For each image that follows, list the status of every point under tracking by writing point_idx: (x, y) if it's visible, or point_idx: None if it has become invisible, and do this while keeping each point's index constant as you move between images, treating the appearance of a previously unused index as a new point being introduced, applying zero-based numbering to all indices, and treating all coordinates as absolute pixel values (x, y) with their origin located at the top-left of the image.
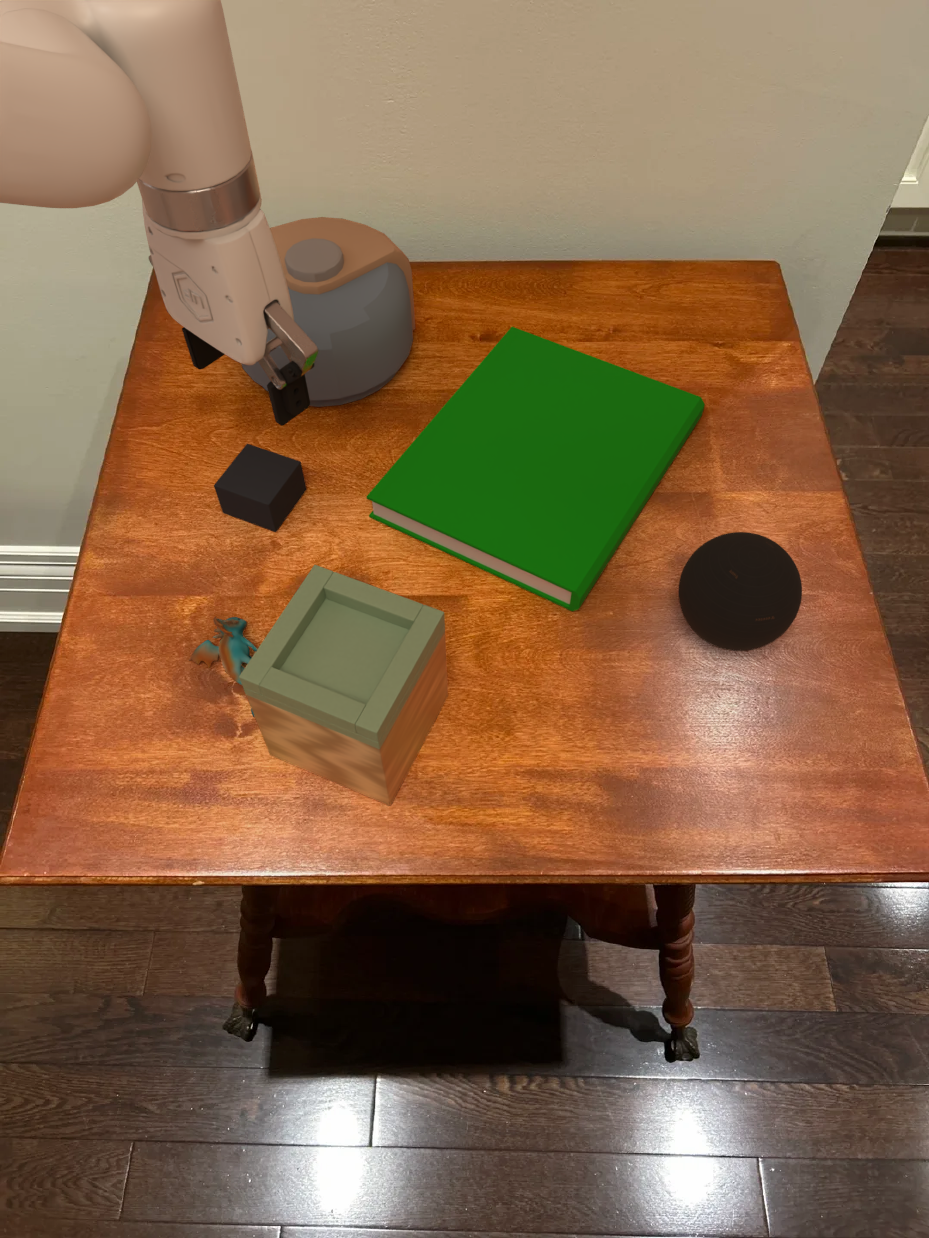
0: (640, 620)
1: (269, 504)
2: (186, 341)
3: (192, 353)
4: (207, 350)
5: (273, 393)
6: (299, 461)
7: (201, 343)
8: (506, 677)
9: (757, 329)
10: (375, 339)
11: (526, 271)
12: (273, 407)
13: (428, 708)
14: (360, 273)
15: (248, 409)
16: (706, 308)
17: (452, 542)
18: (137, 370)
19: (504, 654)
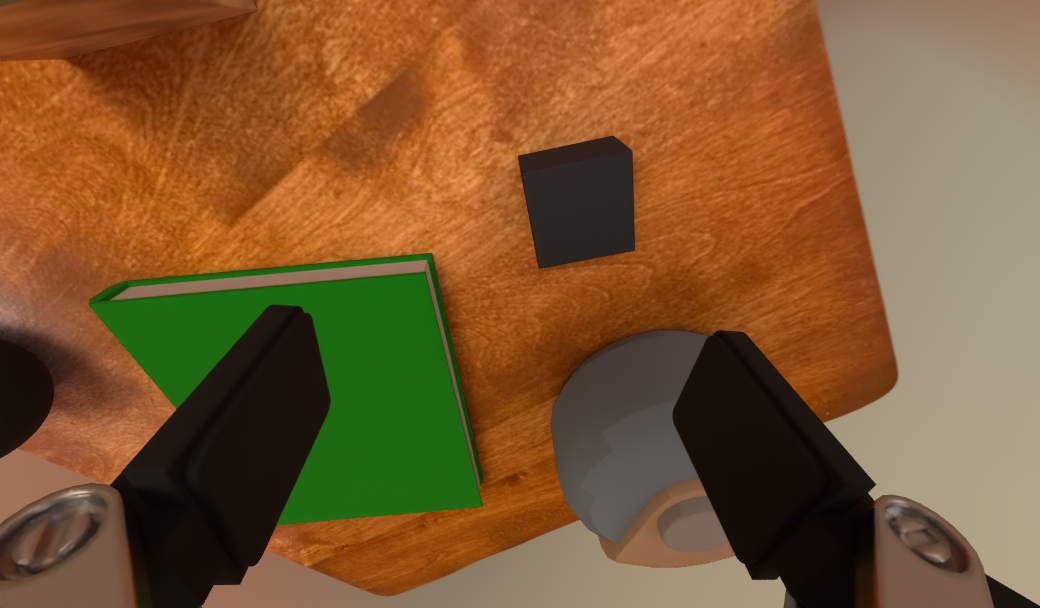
0: (69, 313)
1: (521, 175)
2: (815, 421)
3: (764, 379)
4: (719, 408)
5: (155, 437)
6: (540, 267)
7: (748, 431)
8: (56, 146)
9: (335, 564)
10: (565, 460)
11: (535, 533)
12: (244, 358)
13: None
14: (633, 526)
15: (689, 298)
16: (383, 562)
17: (295, 279)
18: (875, 267)
19: (101, 177)
